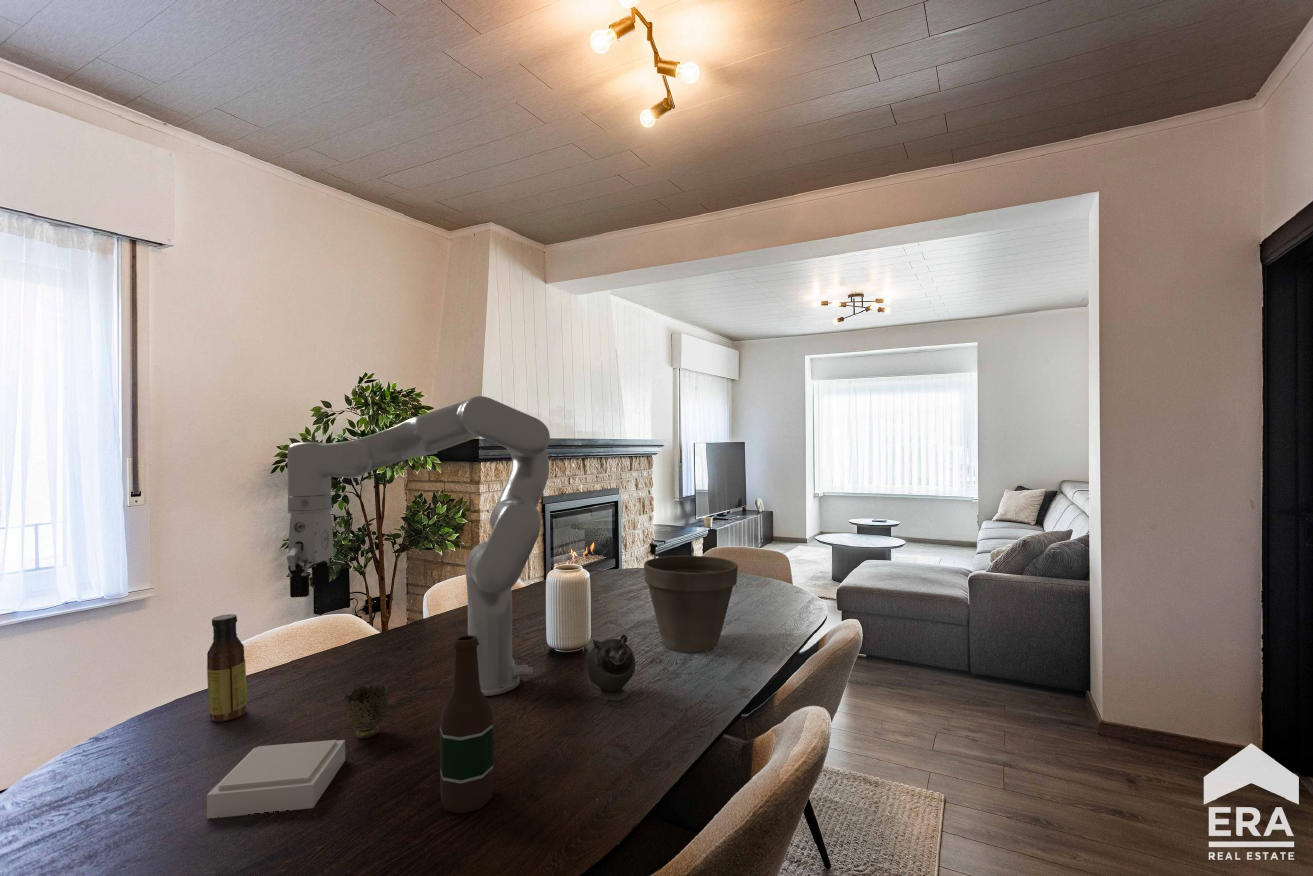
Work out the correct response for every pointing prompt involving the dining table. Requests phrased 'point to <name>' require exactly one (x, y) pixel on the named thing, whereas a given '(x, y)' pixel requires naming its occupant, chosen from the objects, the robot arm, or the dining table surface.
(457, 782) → the beer bottle
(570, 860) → the dining table surface
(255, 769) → the pedestal
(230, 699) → the sauce bottle
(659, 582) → the plant pot
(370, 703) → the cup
